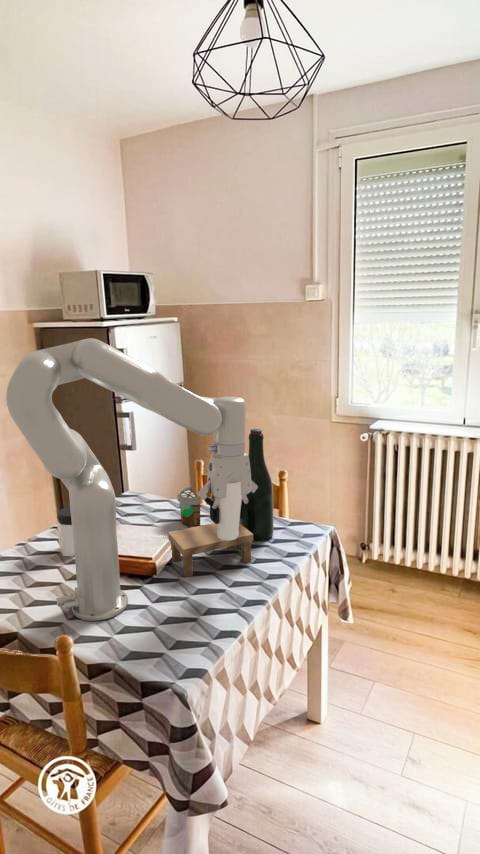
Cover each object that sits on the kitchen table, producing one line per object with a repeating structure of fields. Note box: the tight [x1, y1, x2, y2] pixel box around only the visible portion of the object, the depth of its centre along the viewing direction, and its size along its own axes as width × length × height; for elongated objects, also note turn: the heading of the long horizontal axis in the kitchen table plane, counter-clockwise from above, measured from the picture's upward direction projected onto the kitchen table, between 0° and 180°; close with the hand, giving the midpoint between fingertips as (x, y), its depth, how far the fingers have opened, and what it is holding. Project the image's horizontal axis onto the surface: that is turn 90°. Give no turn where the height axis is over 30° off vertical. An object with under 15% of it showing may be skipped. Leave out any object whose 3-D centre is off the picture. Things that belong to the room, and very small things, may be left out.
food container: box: [176, 486, 202, 528], centre depth 169 cm, size 12×6×10 cm, turn 17°
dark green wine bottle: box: [239, 428, 275, 542], centre depth 157 cm, size 10×10×33 cm
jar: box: [56, 506, 75, 557], centre depth 150 cm, size 9×8×12 cm
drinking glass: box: [217, 482, 242, 541], centre depth 128 cm, size 7×7×15 cm
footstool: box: [167, 522, 254, 578], centre depth 143 cm, size 20×12×8 cm, turn 117°
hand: (228, 519), depth 129 cm, fingers closed on drinking glass, 6 cm apart
